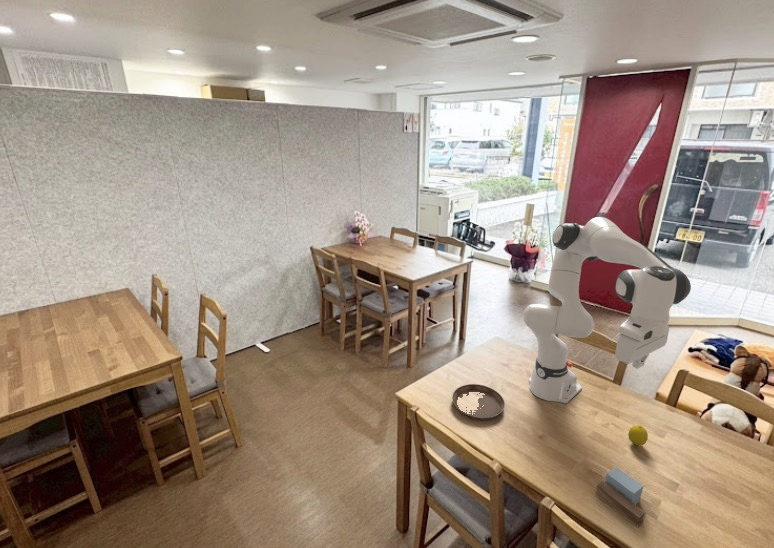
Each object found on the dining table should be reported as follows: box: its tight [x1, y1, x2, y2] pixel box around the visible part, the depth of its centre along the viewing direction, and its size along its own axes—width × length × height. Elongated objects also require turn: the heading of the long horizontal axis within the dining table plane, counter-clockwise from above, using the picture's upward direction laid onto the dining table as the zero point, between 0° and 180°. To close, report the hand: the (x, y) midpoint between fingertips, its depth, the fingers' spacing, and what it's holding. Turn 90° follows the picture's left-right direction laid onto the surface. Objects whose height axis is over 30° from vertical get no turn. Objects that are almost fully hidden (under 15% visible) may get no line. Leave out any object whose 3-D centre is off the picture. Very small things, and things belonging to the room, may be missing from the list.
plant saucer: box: [452, 383, 506, 421], centre depth 153 cm, size 21×21×3 cm
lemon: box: [627, 424, 649, 446], centre depth 131 cm, size 6×6×8 cm
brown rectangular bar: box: [595, 480, 646, 528], centre depth 109 cm, size 3×12×4 cm, turn 29°
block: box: [604, 466, 645, 505], centre depth 113 cm, size 5×8×6 cm, turn 29°
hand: (637, 366), depth 110 cm, fingers closed
